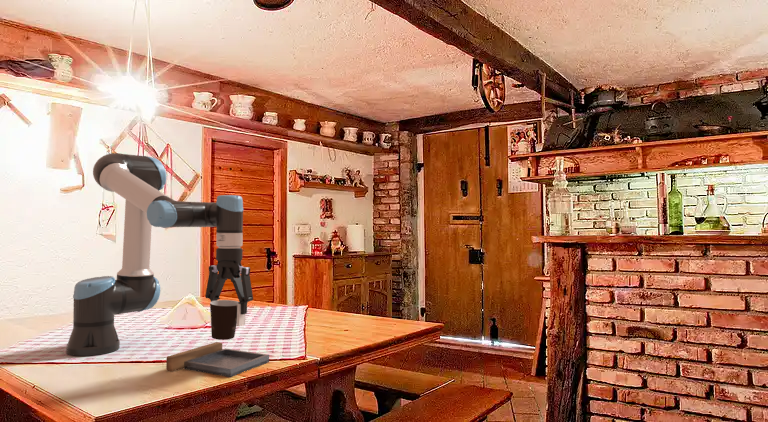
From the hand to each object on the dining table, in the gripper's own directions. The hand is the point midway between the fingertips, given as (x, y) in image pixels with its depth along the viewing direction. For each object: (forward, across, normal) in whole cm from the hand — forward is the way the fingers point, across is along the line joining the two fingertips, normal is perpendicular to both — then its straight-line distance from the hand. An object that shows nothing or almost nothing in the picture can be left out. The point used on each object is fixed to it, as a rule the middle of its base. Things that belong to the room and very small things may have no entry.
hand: (228, 323), depth 155 cm
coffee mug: (+4, -1, 0) cm, 4 cm away
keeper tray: (+12, 0, 0) cm, 12 cm away
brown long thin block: (+12, -11, -2) cm, 16 cm away
